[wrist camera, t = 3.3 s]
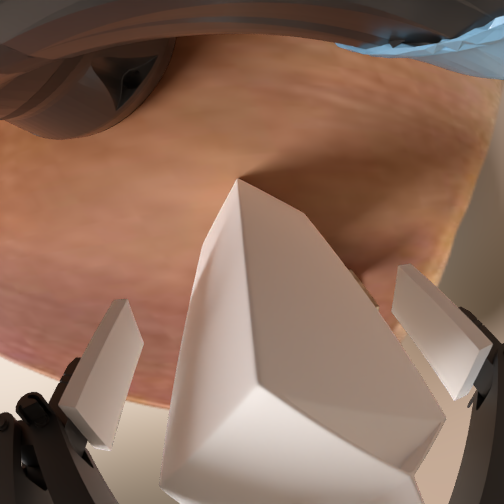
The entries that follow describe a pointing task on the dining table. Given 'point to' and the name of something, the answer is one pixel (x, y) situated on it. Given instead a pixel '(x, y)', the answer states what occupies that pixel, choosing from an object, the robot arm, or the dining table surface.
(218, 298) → the milk
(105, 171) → the dining table surface
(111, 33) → the robot arm
